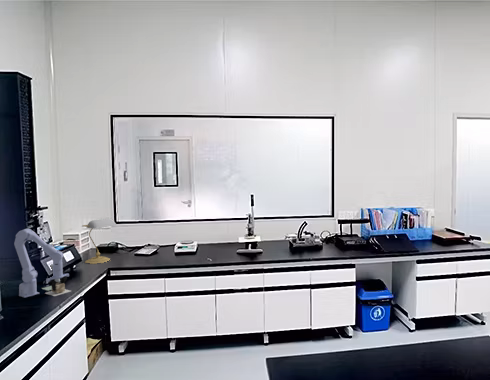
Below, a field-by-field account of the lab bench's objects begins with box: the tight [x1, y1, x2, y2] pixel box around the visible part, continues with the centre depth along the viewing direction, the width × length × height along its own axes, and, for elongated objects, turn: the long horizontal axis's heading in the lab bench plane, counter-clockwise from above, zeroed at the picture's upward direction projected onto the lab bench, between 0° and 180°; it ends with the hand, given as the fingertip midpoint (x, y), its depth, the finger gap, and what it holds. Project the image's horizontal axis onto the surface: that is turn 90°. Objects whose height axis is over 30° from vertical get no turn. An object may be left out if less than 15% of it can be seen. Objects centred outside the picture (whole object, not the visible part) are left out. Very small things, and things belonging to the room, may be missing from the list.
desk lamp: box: [82, 217, 117, 265], centre depth 318 cm, size 31×23×40 cm
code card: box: [44, 288, 72, 297], centre depth 230 cm, size 12×12×1 cm
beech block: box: [51, 282, 66, 293], centre depth 230 cm, size 5×7×5 cm
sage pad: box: [41, 285, 52, 292], centre depth 239 cm, size 8×8×1 cm
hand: (58, 289), depth 230 cm, fingers closed on beech block, 5 cm apart
